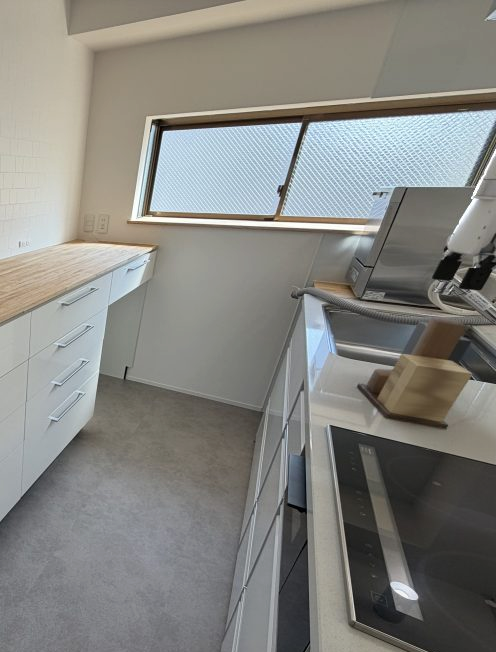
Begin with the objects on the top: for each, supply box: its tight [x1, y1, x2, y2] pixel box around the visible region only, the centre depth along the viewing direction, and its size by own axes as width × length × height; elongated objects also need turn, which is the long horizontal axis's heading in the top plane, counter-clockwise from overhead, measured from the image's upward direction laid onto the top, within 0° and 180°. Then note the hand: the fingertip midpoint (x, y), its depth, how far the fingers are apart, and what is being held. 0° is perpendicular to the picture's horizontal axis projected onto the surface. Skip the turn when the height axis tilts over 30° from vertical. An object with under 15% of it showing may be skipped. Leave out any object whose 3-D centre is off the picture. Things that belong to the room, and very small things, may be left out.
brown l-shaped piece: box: [366, 316, 468, 394], centre depth 91 cm, size 9×4×18 cm, turn 61°
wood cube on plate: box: [356, 353, 473, 430], centre depth 89 cm, size 10×16×12 cm, turn 158°
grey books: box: [401, 321, 473, 365], centre depth 98 cm, size 6×9×15 cm
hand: (454, 284), depth 83 cm, fingers open, 9 cm apart
